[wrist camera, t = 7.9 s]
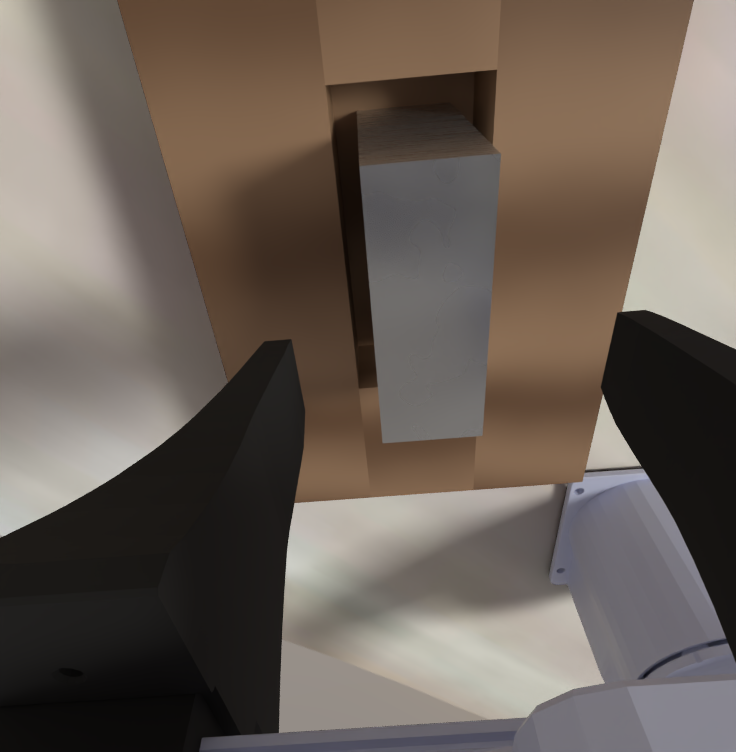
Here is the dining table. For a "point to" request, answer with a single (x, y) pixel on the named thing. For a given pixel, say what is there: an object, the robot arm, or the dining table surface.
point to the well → (345, 209)
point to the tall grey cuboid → (429, 266)
